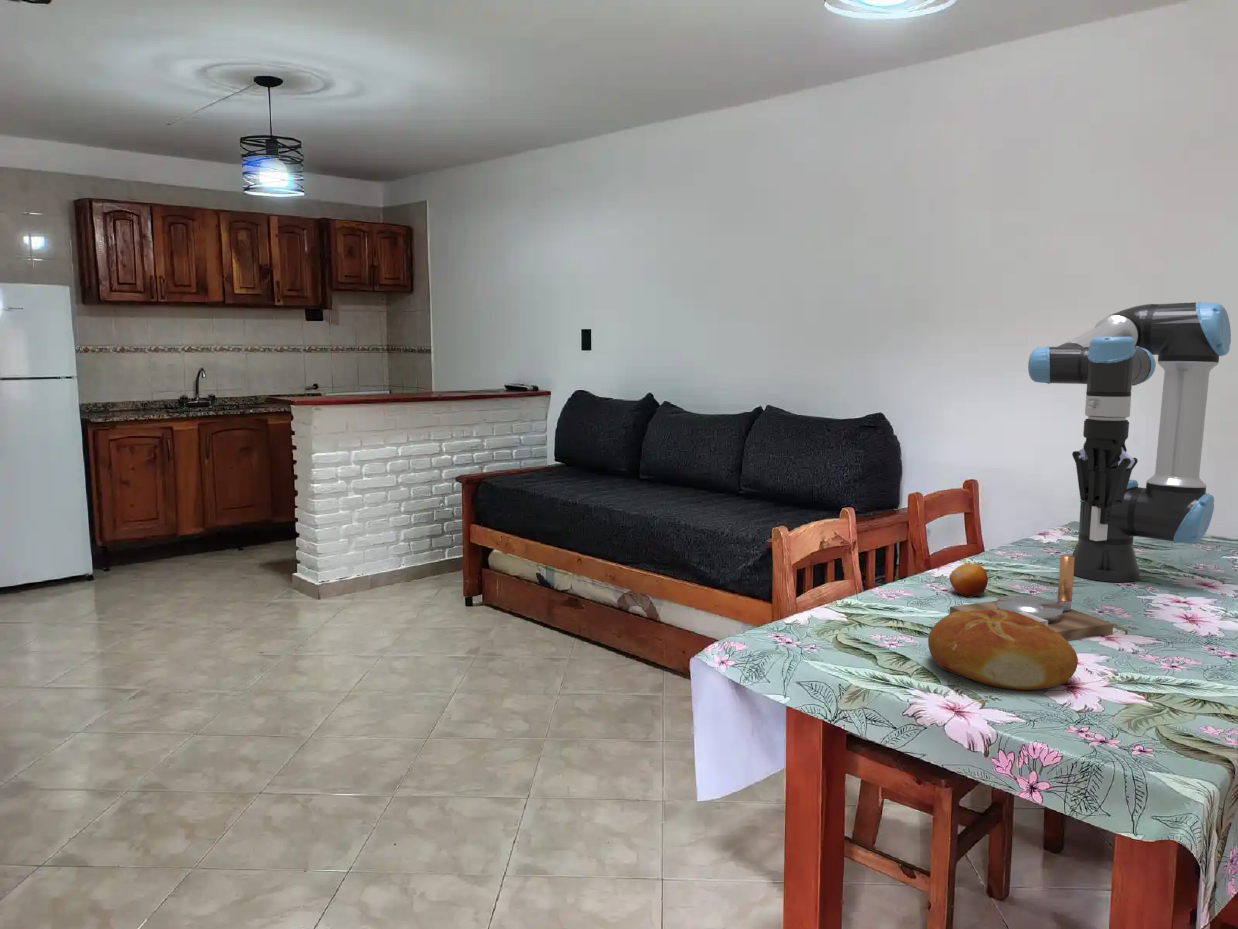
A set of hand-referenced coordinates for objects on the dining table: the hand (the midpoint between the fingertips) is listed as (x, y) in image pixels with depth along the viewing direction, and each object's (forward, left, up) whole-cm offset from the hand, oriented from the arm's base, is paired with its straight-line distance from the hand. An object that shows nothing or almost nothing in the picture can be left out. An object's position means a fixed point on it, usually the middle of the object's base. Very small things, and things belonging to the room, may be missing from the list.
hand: (1098, 539), depth 170 cm
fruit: (+5, -29, -19) cm, 35 cm away
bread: (+33, +11, -19) cm, 39 cm away
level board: (+9, -7, -18) cm, 21 cm away
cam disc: (+7, -7, -16) cm, 19 cm away
